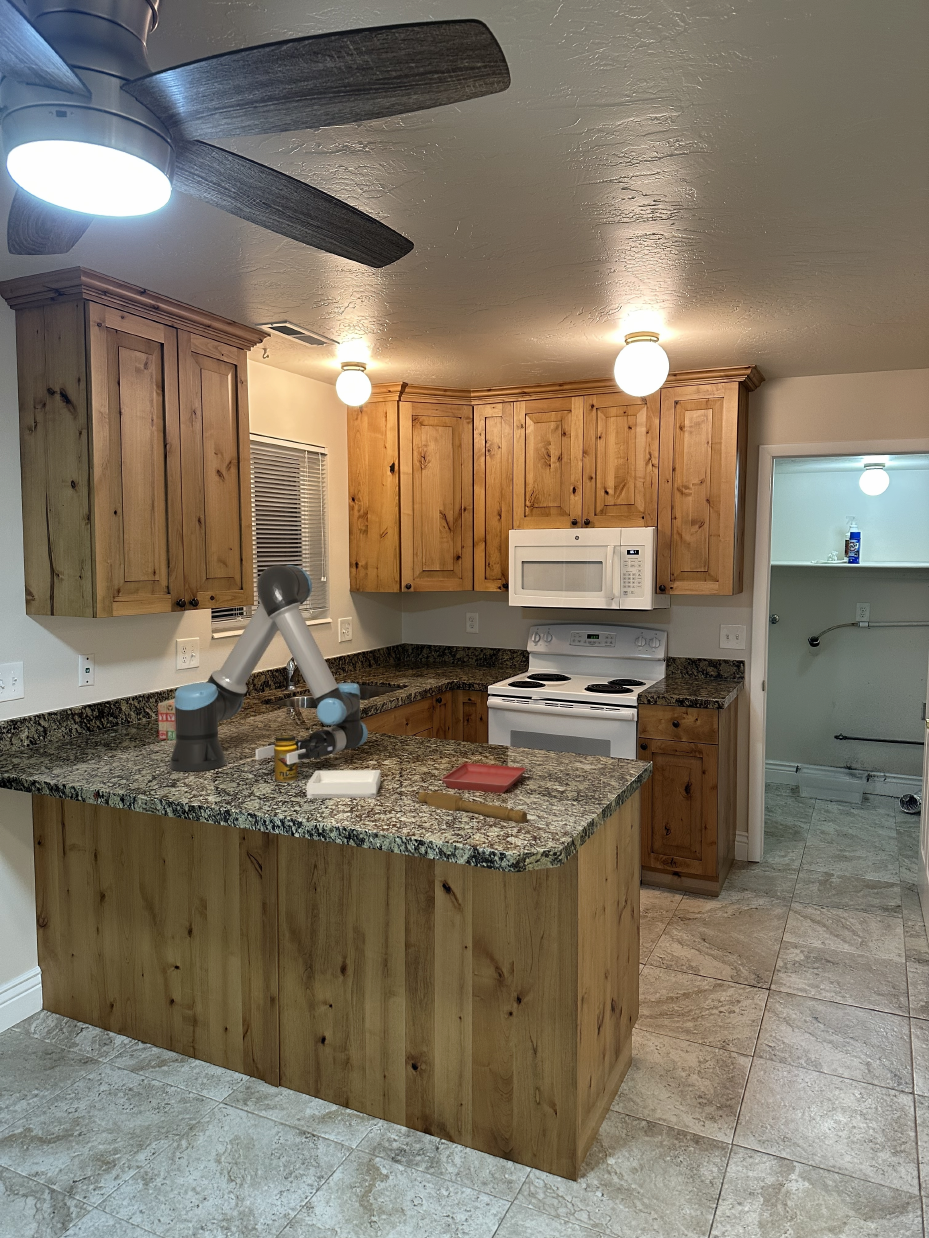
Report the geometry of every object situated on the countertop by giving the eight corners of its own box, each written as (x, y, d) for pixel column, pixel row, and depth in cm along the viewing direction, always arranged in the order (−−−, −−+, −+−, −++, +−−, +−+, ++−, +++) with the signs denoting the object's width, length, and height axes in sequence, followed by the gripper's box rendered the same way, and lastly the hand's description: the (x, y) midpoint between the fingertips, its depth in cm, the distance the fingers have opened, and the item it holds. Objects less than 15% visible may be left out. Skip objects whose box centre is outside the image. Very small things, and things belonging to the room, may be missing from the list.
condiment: (290, 784, 219) (290, 739, 219) (262, 781, 222) (261, 737, 221) (304, 777, 226) (303, 733, 226) (276, 775, 229) (275, 732, 228)
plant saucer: (507, 797, 207) (507, 783, 207) (440, 790, 213) (439, 778, 213) (527, 779, 224) (527, 767, 224) (464, 774, 230) (464, 762, 230)
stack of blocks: (191, 727, 302) (190, 693, 301) (207, 727, 301) (206, 694, 300) (158, 739, 281) (157, 702, 280) (175, 739, 280) (174, 703, 279)
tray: (307, 798, 205) (306, 784, 205) (316, 783, 219) (315, 770, 219) (376, 797, 206) (375, 783, 206) (380, 782, 220) (380, 769, 220)
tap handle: (520, 812, 183) (415, 791, 200) (520, 826, 183) (415, 803, 201) (528, 809, 185) (423, 788, 203) (528, 822, 185) (423, 801, 203)
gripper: (358, 759, 234) (305, 775, 215) (296, 750, 245) (241, 765, 226) (358, 732, 233) (304, 747, 214) (296, 725, 245) (240, 738, 226)
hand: (272, 756), depth 220 cm, fingers open, 10 cm apart
